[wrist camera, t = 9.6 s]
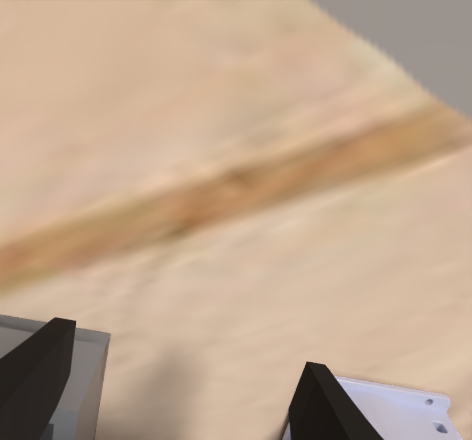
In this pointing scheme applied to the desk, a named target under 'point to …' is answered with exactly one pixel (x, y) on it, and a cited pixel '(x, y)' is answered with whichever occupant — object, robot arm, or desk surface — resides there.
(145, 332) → the desk surface
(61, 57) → the desk surface
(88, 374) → the big crate
